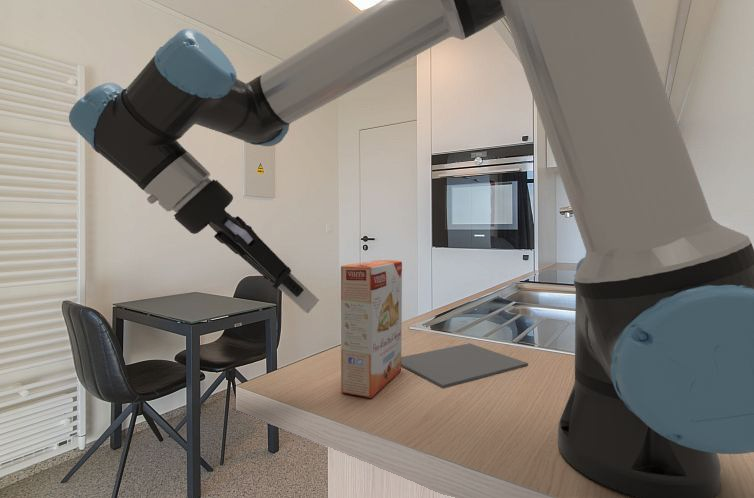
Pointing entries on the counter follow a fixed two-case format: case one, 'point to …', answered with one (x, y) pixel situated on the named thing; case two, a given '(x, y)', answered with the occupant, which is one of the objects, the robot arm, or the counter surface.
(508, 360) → the mat
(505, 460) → the counter surface
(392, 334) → the cracker box
